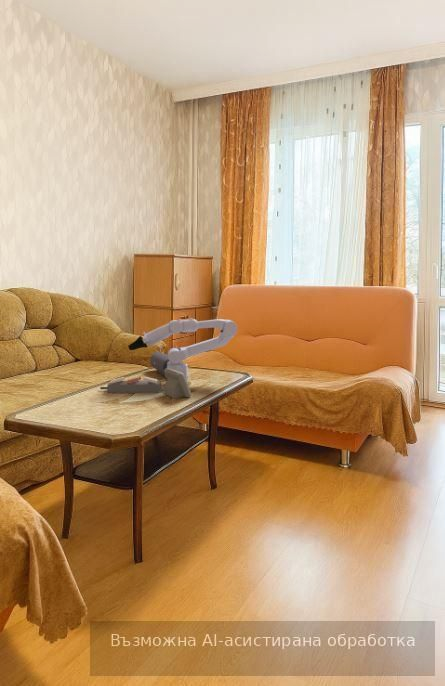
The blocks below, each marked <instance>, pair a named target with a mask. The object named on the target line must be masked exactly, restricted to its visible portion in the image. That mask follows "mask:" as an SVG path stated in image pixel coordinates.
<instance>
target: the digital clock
mask: <svg viewBox="0 0 445 686" xmlns="http://www.w3.org/2000/svg"><path fill="white" fill-rule="evenodd" d="M164 373H165V378H166V382H164V384H163V388H164V389H163V393H164V395H166V396H169V397H170V398H173V399H177V398H183V397H184V398H191V397H192V393H191V390H190V389H191V388H190V386H189V385H188V384H189V383H188V381H186V378H185V376H184V374H183V373H181V372H178V371H175V370H173V369H170V368H166V369H165V370H164Z"/></svg>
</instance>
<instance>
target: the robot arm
mask: <svg viewBox="0 0 445 686" xmlns="http://www.w3.org/2000/svg"><path fill="white" fill-rule="evenodd" d="M208 328H209V329H210V328H212V329H213V328H216V329H217V330H220V331H219V334H218V336H217V337H213V338H210V339H207V340H204V341H201V342H198V343H193V344H192V345H188V346H181V347H172V348H170V349H169V350H168V352H167V355H168V358H169V362H167V368H170V369H173V370H175V371H178V372H181V373H183V374H184V376H185V378H186V381H187V382H188V381H189V373H188V371H189V370H188V364H187V363H184V362H183V361H184V360H187V359H188V358H190V357H194V356H196V355H199V354H202V353H206V352H208V351H212V350H216V349H218V348H221V347H224V346H225V347H226V346H227V344H228V343H229V342H230V341H231V340H232V338H233V337H235V336H236V334H237V332H238V324H237V323H236V322H234V321H233V320H231V319H222V318H220V319H219V318H218V319H209V320H208V319H207V320H199V321H198V320H196V319H195V318H193V317H190V318H189V319H181V318H179V319H178V320H176V319H174V320H173V319H171V320H170V321H169V322H168V323H165V324H164V325H161V326H158V327H157V328H155V329H153V330H151V331H148V332H147V333H146V331H143V332H142V333H143V336H141V335H139V336H138V337H137V339H136V340H134V341H133V342H132V343H130V344H129V345H128V349H129V351H135V350H139V349H142V348H148V347H151V346H153V345H155V344H156V343H158V342H160V341H162V340H163V341H164V340H165V339H167V338H169V337H170V336H172V335H178V334H180V333H192V332H193V333H194V332H196V331H197V330H198V329H208Z"/></svg>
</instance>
